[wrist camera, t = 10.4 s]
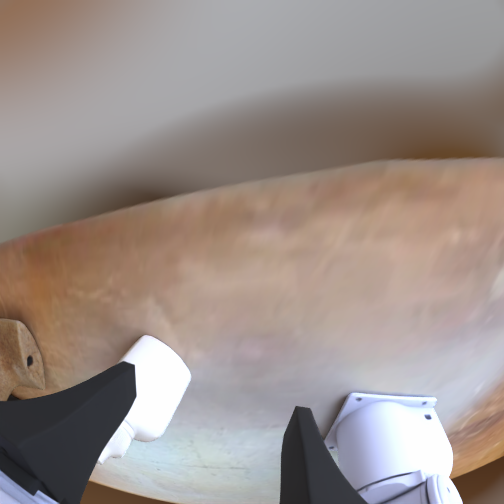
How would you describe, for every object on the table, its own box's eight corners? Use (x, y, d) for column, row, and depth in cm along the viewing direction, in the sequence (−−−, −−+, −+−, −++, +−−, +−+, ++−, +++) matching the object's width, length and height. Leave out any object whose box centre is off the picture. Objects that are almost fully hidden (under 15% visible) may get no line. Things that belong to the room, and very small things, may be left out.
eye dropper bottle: (155, 385, 25) (96, 480, 13) (130, 334, 24) (49, 423, 12) (196, 383, 24) (146, 492, 13) (173, 329, 23) (97, 434, 11)
